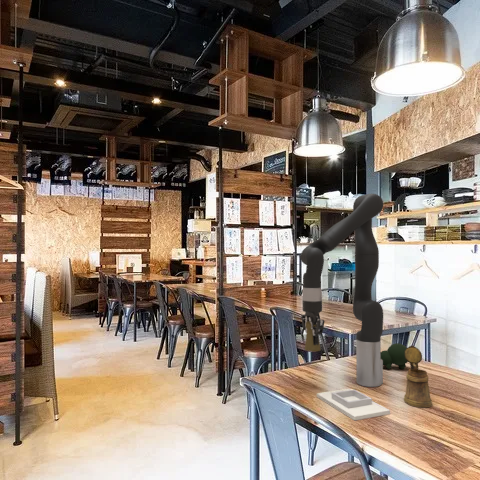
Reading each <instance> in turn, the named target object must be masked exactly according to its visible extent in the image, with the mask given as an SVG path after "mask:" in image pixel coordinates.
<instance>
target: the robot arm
mask: <svg viewBox="0 0 480 480" xmlns="http://www.w3.org/2000/svg"><path fill="white" fill-rule="evenodd" d="M383 209H384V201H383V198H382V197H381V196H380V195H379V194H377V193H367V194H366V193H365V194H362V195H360V196H358V197H356V198H355V200H354V201H353V206H352V210H353V211H352V212H351V213H350V214H349V215H347V216H346V217H345V218H342V220H339V221H338V222H337V223H335V224H333V225H332V226H331V227H329V229H328V230H326V231H325V232H324V233H323V234H322V235H321V236H320V237H318V238H317V239H316V240H315V241H313V242H311V243H310V244H308V245H307V246H306V247H305V248H303V250H302V251H301V252H300V256H299V258H300V261H301V262H302V263H303V264H304V266H305V265H306V268H305V272H304V273H303V276H302V293H301V294H302V297H301V298H302V299H301V301H302V304H301V305H302V312H304V314H302V315H300V317H301V318H300V319H301V323H302V329H303V331H305V333H306V334H307V328H306V322H307V321H309V322H310V323H311V329H312V332H313V344H314V345H316V344H317V345H319V342H320V335H323V332H324V326H325V319H321V316H320V313H322V312H323V290H322V274H323V269H324V263H325V258H324V257H325V256H324V255H325V254H326V253H330V252H332V251H333V250H334V249H336V248H337V247H338V246H339V245H340V244H341V243H342V242H343V241H344V240H345V239H346V238H348V237H349V236H350V235H351V234H352V233H353V232H354V294H353V302H352V303H353V304H352V312H353V316H354V317H355V319H356V320H358V321H360V322H361V327H360V330H358V331H357V332H356V336H355V337H356V343H355V344H356V346H355V347H356V348H355V349H356V356H355V358H356V384H358V385H359V386H363V387H369V388H370V387H371V388H375V387H379V386H381V385H383V384H384V383H383V382H384V377H383V376H384V373H383V372H384V371H383V369H384V365H383V360H382V359H381V352H382V351H381V346H382V345H381V338H382V335H383V331H384V309H383V306H382V305H381V303H380V302H378V301H376V300H373V299H372V289H373V283H374V280H375V278H376V275H377V273H378V270H379V266H380V260H379V258H380V255H379V254H380V253H379V250H380V249H379V246H378V243H377V240H376V238H375V235H374V232H373V218H375V217H377V216H378V215H379V214H381V213H382V210H383ZM313 325H316V327H314V326H313ZM315 329H316V331H315Z"/></svg>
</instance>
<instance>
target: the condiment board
mask: <svg viewBox="0 0 480 480" xmlns="http://www.w3.org/2000/svg"><path fill="white" fill-rule="evenodd" d="M316 397H317V398H318V399H319V400H321V401H322V402H325V403H326V404H328V406H331V408H334V409H335V410H337V411H338V412H340V413H342V414H343V415H345V416H347V417H348V418H350V419H351V420H352V421H361V420H366V419H370V418H376V417H381V416H386V415H391V409H389V408H387V407H385V406H383V405H381V404H379V403H377V402H375V401H374V400H373V398H372V397H370V396H368V395H366V394H365V393H363V392H360V391H358V390H356V389H351V388H343V389H337V390H331V391H330V390H329V391H325V392H318V393H316Z"/></svg>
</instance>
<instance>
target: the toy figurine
mask: <svg viewBox="0 0 480 480" xmlns="http://www.w3.org/2000/svg"><path fill="white" fill-rule="evenodd" d="M407 348H408V347H407V346H406V345H404V344H402V343H400V342H399V343H398V342H397V343H396V342H395V343H393V344H391V345H389V346H388V348H387V349H385V350H382V351H381V359H382V360H383V367H385V368H386V369H387V370H390V369H392V366H393V365H396V366H398V369H400V370H406V368H407V363H409V362H408V361H407V360H406V359H405V354H404V353H405V350H406V349H407Z"/></svg>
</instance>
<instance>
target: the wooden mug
mask: <svg viewBox="0 0 480 480" xmlns="http://www.w3.org/2000/svg"><path fill="white" fill-rule="evenodd" d="M404 354H405V359H406V360H407V361H408V362H407V363H409V366H410V368H409V369H408V372H407V373H406V377H405V378H406V379H407V380H406V387H405V394H404V397H403V401H404V403H405V404H407V405H409V406H412V407H415V408H422V409H423V408H431V407H432V406H433V401H432V398H431V393H430V388H429V387H430V385H429V376H428V371H426V370H425V369H419V363H421V362H422V360H423V353H422V352H421V351H420V349H419V348H418V347H416V346H414V345H413V344H411V345H410V346H408V347H407V349H406V350H405V353H404Z"/></svg>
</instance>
